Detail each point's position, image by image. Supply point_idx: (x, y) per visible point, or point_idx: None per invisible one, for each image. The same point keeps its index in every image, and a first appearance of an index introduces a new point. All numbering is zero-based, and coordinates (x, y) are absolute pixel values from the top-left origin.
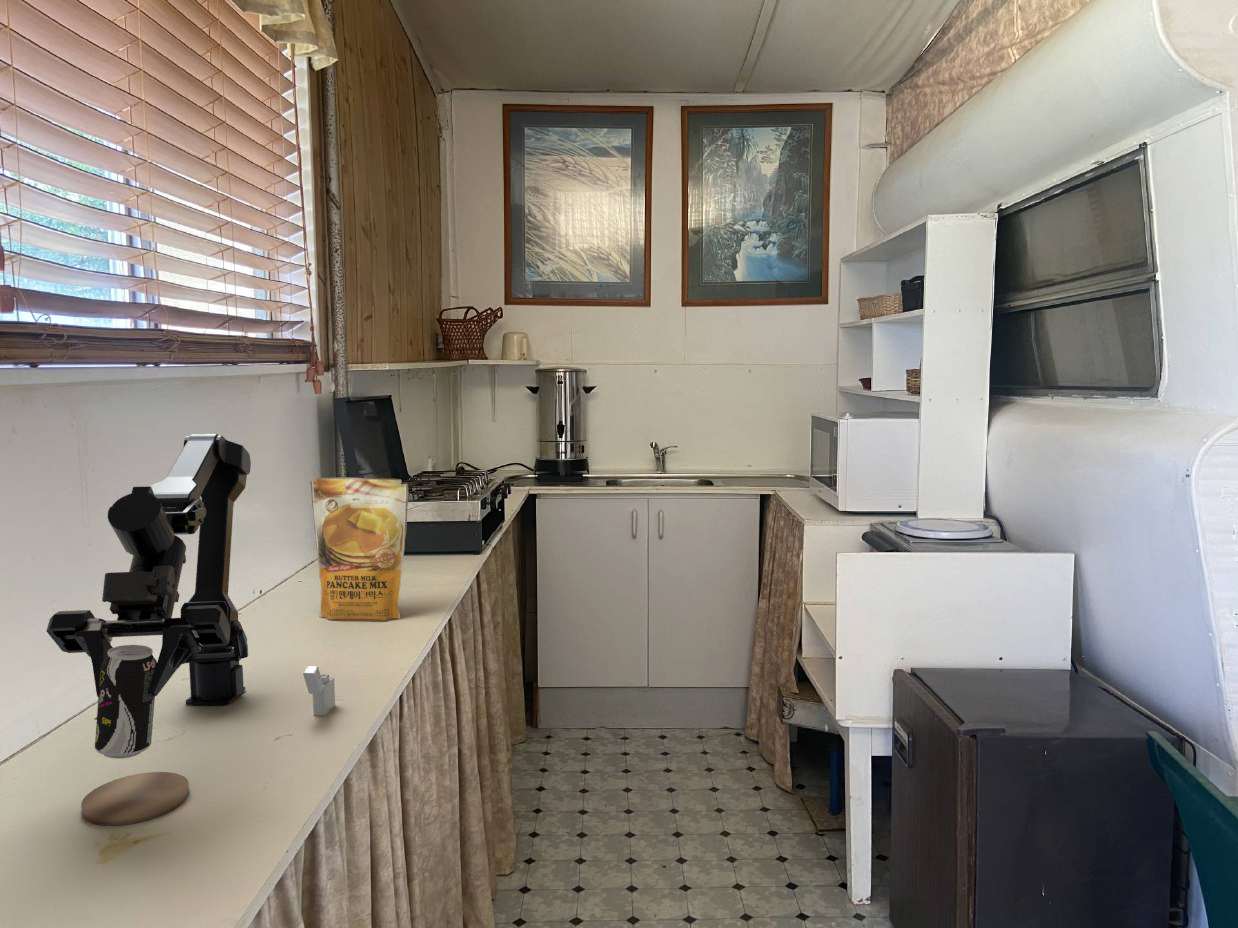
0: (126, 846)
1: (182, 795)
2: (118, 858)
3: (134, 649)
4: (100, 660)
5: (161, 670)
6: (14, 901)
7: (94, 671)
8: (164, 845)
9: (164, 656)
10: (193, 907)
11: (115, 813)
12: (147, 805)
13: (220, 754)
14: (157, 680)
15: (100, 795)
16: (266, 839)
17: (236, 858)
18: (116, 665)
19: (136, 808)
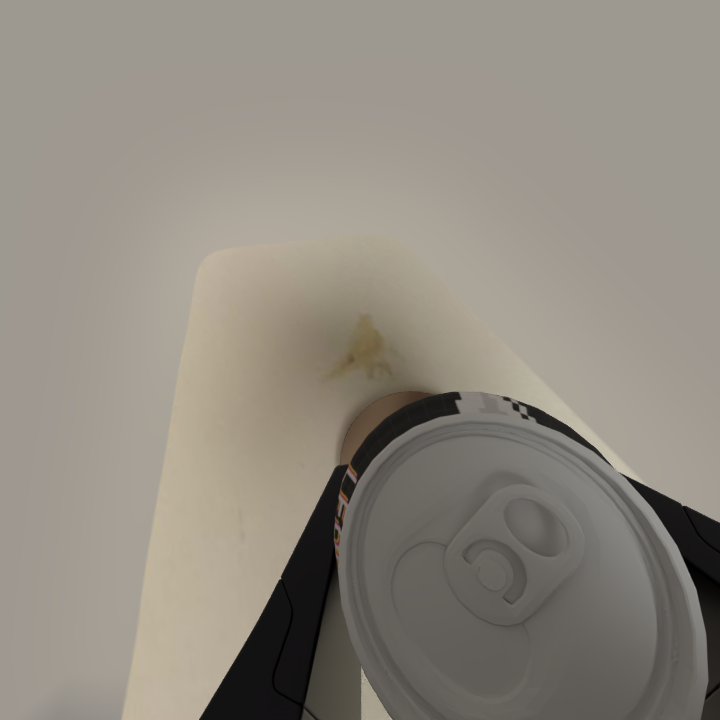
0: (356, 348)
1: (340, 463)
2: (351, 325)
3: (522, 686)
4: (690, 547)
5: (308, 538)
6: (408, 250)
7: (641, 488)
8: (313, 353)
9: (284, 622)
10: (240, 260)
11: (406, 401)
12: (374, 426)
13: (365, 677)
14: (324, 496)
15: None
16: (205, 373)
17: (226, 334)
18: (471, 406)
19: (385, 417)
